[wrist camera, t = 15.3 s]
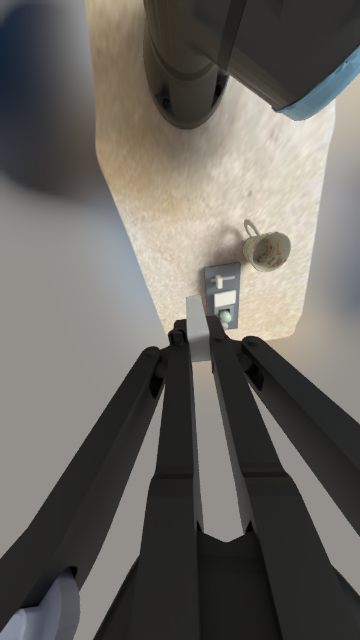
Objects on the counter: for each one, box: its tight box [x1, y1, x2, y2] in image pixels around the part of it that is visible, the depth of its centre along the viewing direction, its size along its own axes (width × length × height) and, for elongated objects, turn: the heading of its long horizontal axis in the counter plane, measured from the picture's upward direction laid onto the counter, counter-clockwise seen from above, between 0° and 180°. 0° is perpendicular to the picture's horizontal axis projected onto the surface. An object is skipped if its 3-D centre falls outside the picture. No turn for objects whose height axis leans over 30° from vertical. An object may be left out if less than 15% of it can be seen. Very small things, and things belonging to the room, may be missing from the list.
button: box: [220, 310, 231, 323], centre depth 48 cm, size 3×3×3 cm
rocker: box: [214, 290, 236, 307], centre depth 46 cm, size 4×6×1 cm, turn 99°
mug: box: [243, 219, 291, 272], centre depth 38 cm, size 8×13×10 cm, turn 42°
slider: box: [215, 275, 222, 289], centre depth 44 cm, size 3×1×4 cm, turn 9°
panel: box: [204, 263, 241, 330], centre depth 49 cm, size 22×10×4 cm, turn 8°
